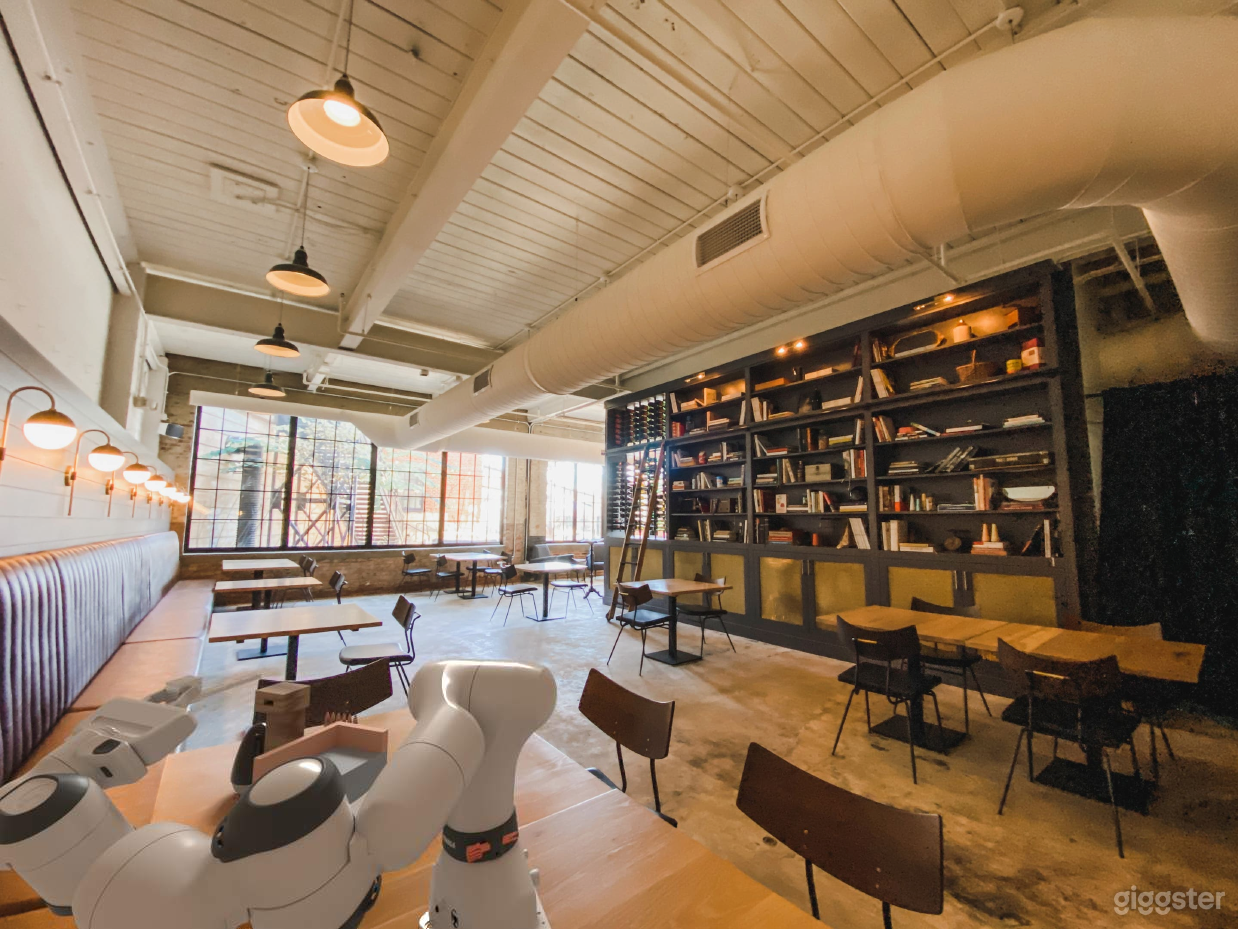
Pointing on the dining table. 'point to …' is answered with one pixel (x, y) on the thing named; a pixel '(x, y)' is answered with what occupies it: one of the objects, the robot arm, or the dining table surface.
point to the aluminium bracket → (182, 683)
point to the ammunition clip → (339, 719)
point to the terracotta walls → (323, 744)
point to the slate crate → (356, 768)
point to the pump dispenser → (247, 757)
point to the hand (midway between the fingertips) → (186, 687)
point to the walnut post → (282, 712)
